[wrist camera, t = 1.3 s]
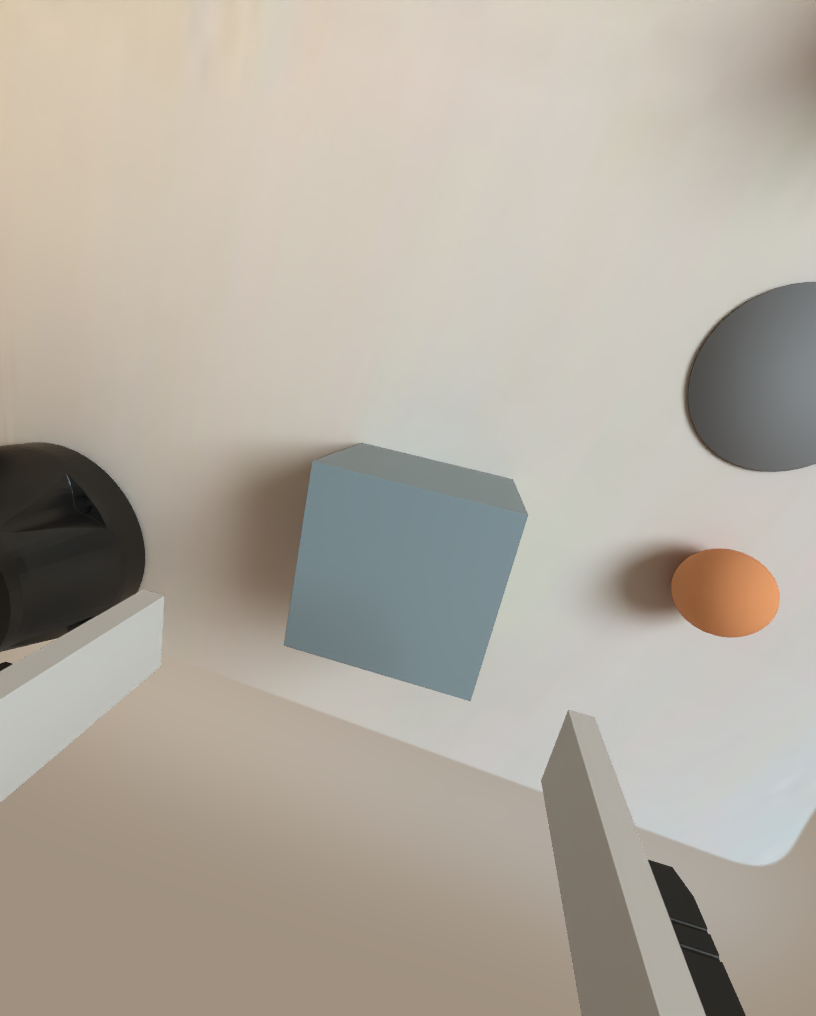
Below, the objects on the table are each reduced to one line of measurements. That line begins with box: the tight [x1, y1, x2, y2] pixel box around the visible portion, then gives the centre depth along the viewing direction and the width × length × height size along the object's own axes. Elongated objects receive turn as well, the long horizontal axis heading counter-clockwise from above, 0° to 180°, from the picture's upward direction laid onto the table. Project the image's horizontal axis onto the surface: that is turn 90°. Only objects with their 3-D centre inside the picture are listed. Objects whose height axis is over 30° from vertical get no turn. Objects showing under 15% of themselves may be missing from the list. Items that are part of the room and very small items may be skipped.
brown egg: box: [671, 549, 780, 637], centre depth 24 cm, size 5×5×5 cm
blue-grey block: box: [284, 443, 528, 701], centre depth 25 cm, size 10×10×9 cm
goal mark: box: [688, 282, 816, 472], centre depth 23 cm, size 10×10×1 cm
